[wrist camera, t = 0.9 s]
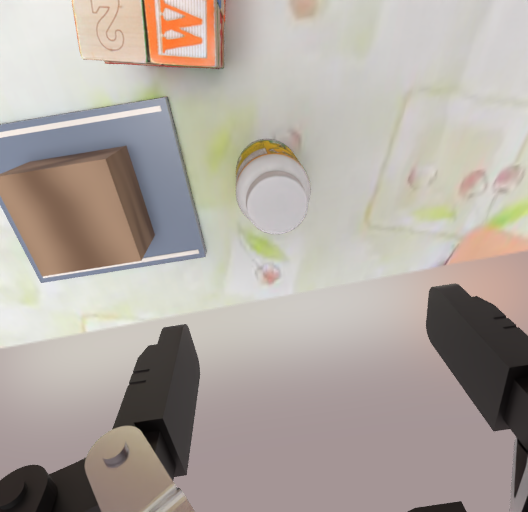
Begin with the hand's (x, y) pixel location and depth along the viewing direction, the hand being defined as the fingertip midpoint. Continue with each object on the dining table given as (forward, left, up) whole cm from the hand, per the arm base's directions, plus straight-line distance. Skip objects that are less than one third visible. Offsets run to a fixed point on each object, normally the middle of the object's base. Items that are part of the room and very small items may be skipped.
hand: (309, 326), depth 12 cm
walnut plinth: (+15, 0, -21) cm, 26 cm away
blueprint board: (+15, 0, -22) cm, 26 cm away
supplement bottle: (0, 0, -22) cm, 22 cm away
